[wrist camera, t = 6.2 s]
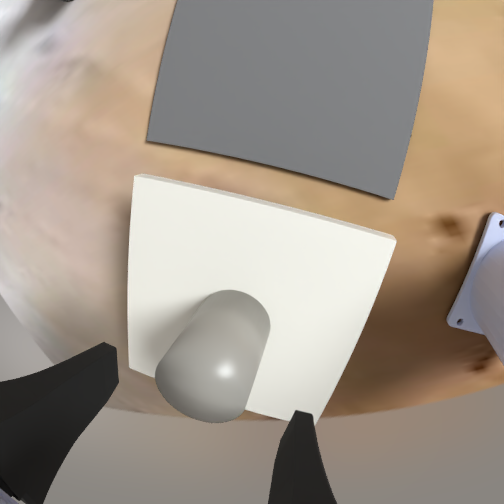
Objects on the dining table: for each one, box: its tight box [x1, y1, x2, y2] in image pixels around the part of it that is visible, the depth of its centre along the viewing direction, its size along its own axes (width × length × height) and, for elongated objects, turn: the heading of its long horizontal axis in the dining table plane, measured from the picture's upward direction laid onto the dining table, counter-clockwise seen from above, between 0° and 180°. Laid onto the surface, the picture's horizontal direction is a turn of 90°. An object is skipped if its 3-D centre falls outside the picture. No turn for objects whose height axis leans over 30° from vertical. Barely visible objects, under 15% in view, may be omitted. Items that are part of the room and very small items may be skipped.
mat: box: [147, 0, 433, 200], centre depth 15 cm, size 15×15×1 cm
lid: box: [128, 174, 397, 426], centre depth 14 cm, size 12×12×6 cm
